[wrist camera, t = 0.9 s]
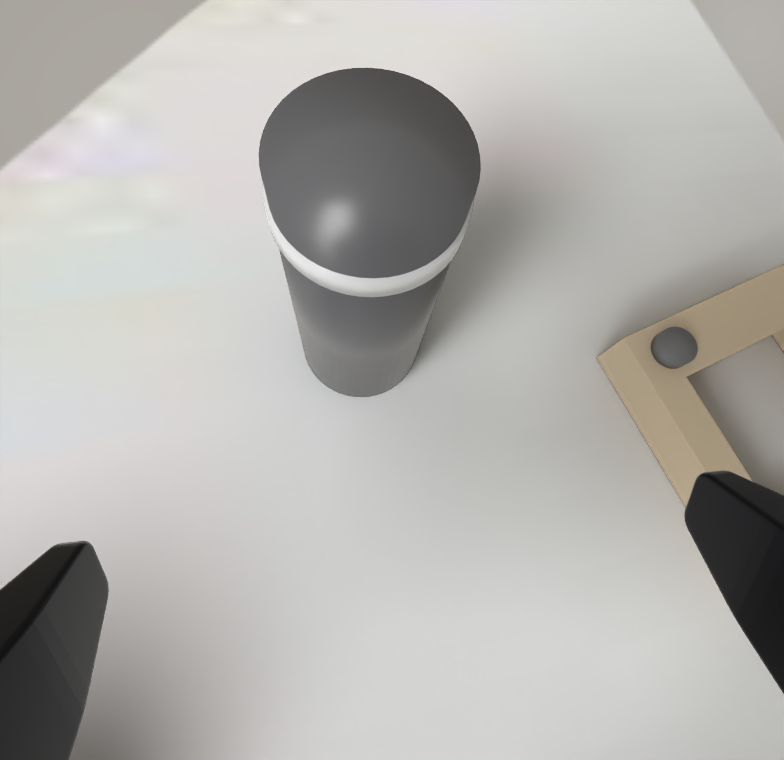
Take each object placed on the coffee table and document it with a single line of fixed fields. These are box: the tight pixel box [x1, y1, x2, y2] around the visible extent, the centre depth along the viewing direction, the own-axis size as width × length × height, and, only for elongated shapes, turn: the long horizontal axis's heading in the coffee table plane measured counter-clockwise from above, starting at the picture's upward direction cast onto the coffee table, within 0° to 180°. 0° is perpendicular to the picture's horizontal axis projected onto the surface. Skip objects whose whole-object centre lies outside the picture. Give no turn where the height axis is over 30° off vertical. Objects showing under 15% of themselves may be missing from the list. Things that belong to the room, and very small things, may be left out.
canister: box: [259, 68, 480, 397], centre depth 18 cm, size 5×5×12 cm
